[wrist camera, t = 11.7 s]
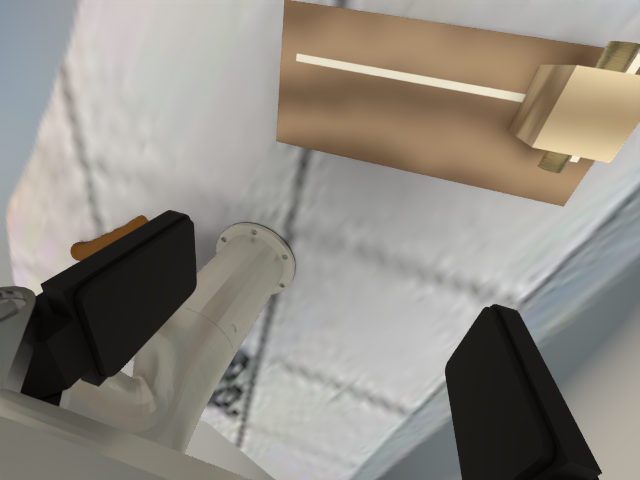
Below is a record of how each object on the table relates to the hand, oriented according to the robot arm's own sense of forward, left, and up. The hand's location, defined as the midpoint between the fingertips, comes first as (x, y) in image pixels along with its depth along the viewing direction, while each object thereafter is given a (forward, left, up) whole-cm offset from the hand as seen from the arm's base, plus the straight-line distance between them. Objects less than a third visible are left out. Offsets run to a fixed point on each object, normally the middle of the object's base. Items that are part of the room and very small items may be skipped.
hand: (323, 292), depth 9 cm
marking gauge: (+5, -13, -23) cm, 27 cm away
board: (+3, -4, -26) cm, 26 cm away
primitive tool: (-26, +40, -26) cm, 55 cm away
